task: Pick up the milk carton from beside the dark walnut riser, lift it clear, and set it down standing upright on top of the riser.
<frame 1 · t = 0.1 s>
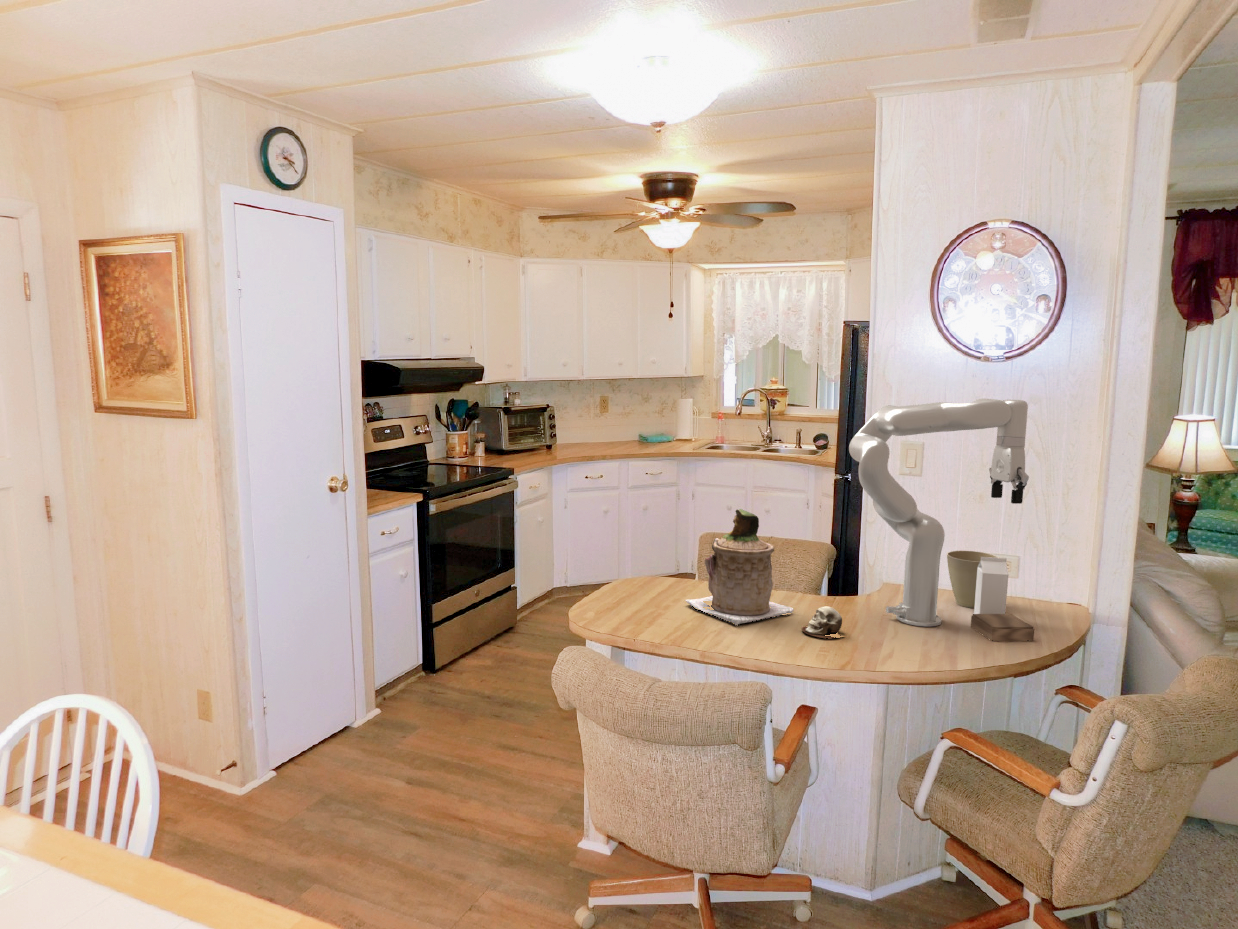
hand: (1006, 500, 242), 36 cm above the table, tool pointing down, fingers open, 9 cm apart
milk carton: (988, 620, 247), on the table
skull: (823, 634, 233), on the table
walnut riser: (1001, 633, 234), on the table
cookie jar: (738, 611, 252), on the table
plant pot: (968, 605, 262), on the table
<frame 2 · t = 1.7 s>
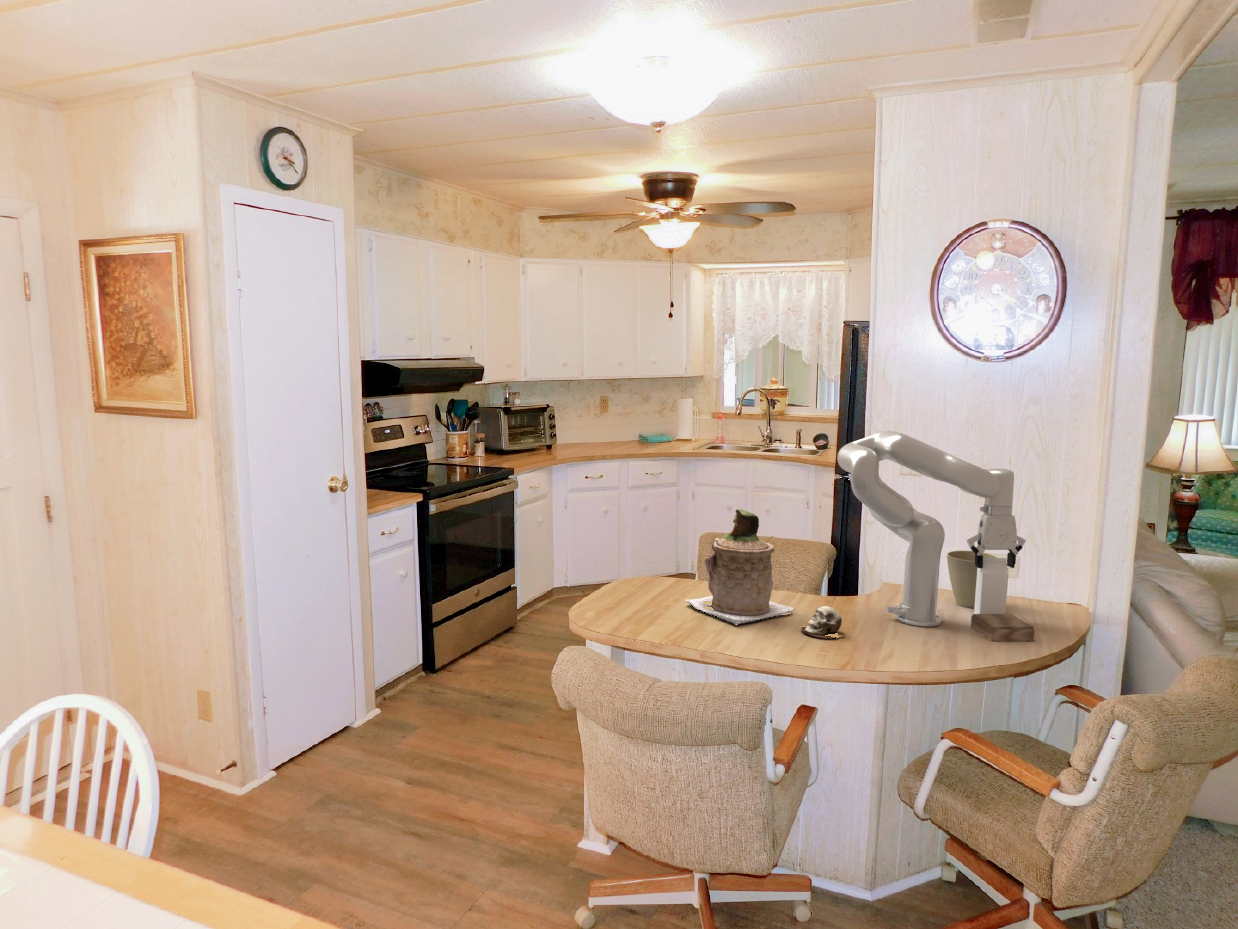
hand: (994, 567, 245), 16 cm above the table, tool pointing down, fingers open, 9 cm apart
milk carton: (988, 620, 247), on the table, touching gripper
everything else where it was.
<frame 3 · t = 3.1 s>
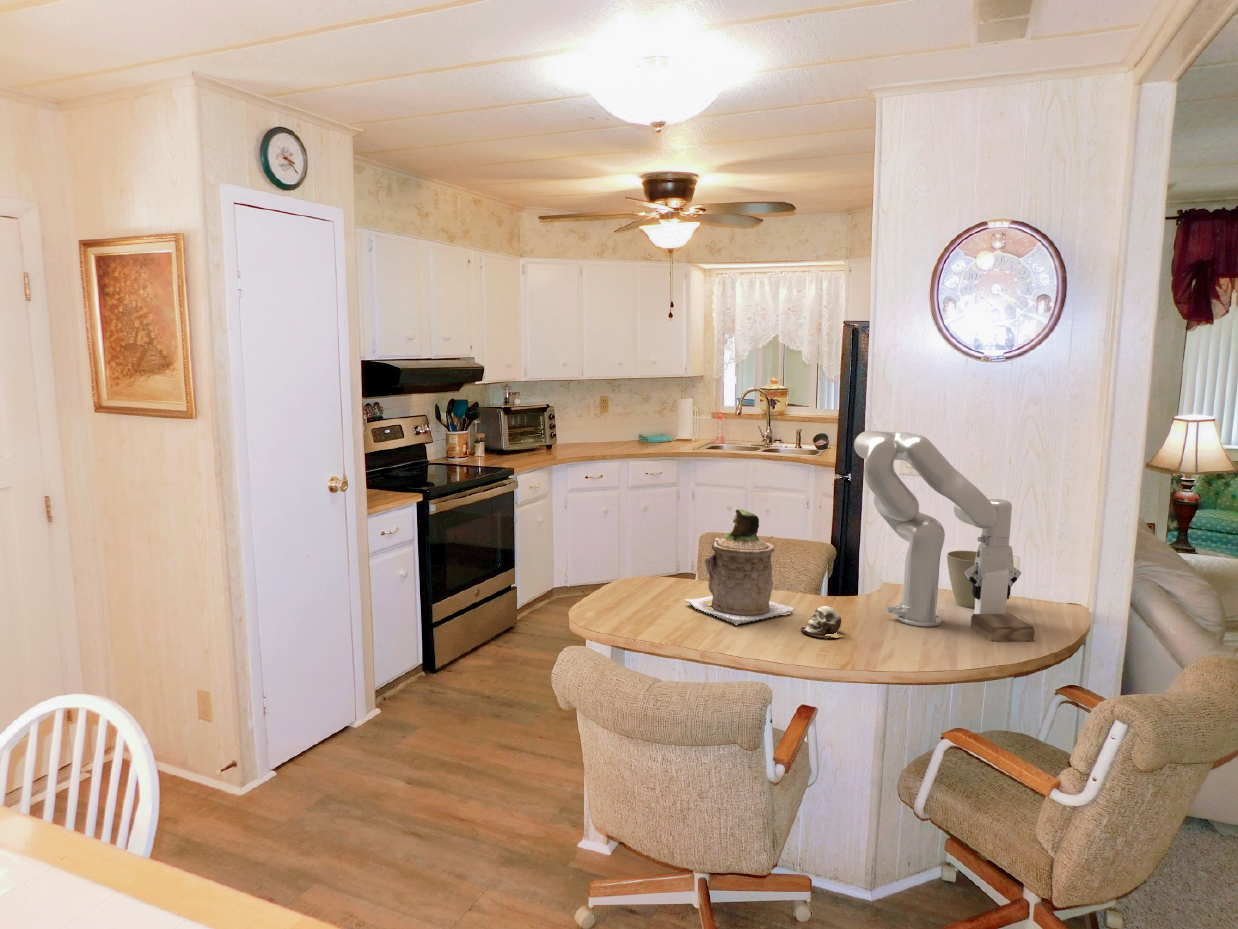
hand: (990, 598, 247), 7 cm above the table, tool pointing down, fingers closed on milk carton, 8 cm apart
milk carton: (989, 620, 247), on the table, touching gripper
everything else where it was.
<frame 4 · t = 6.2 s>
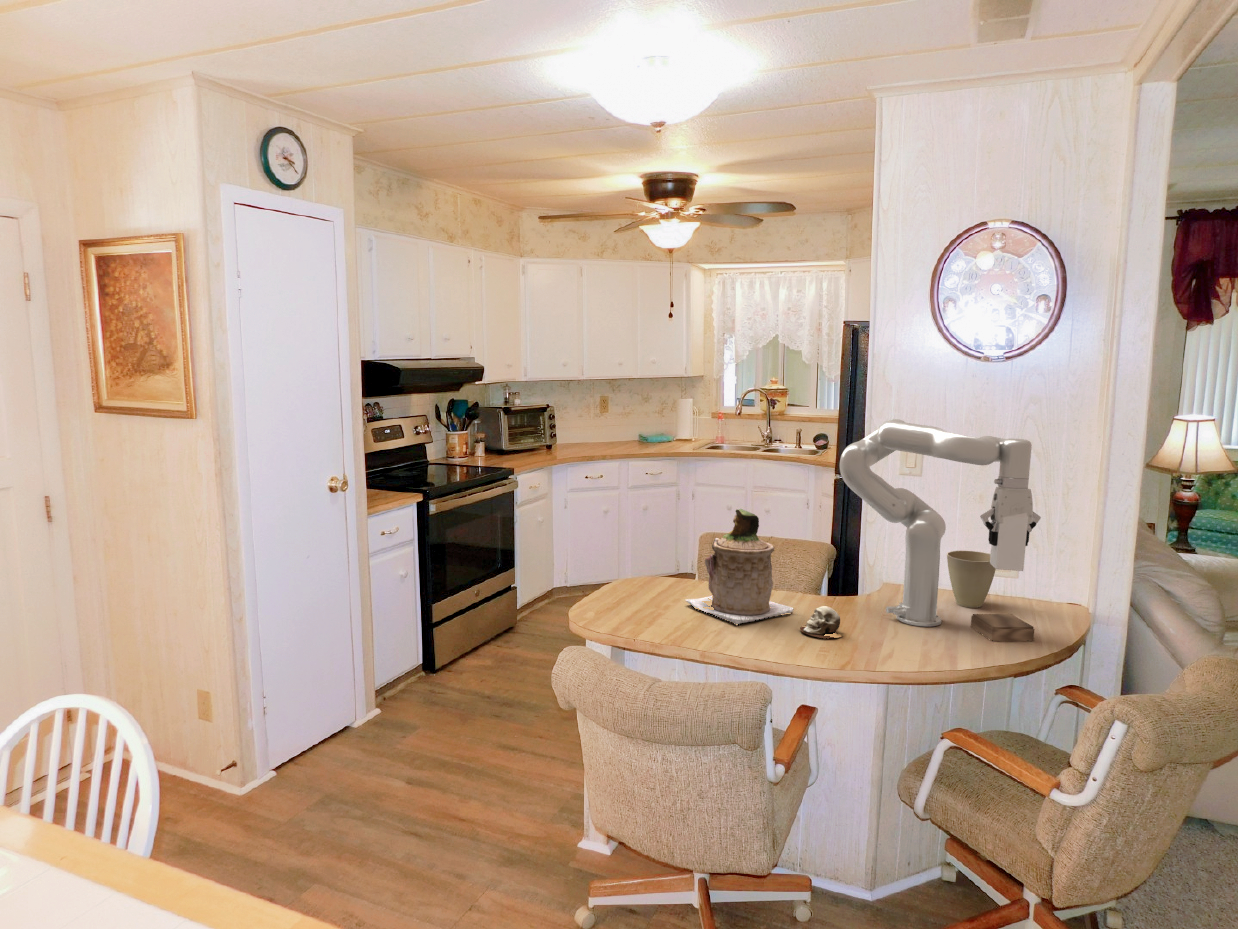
hand: (1008, 544, 231), 26 cm above the table, tool pointing down, fingers closed on milk carton, 8 cm apart
milk carton: (1006, 568, 232), point 19 cm above the table, touching gripper
everything else where it was.
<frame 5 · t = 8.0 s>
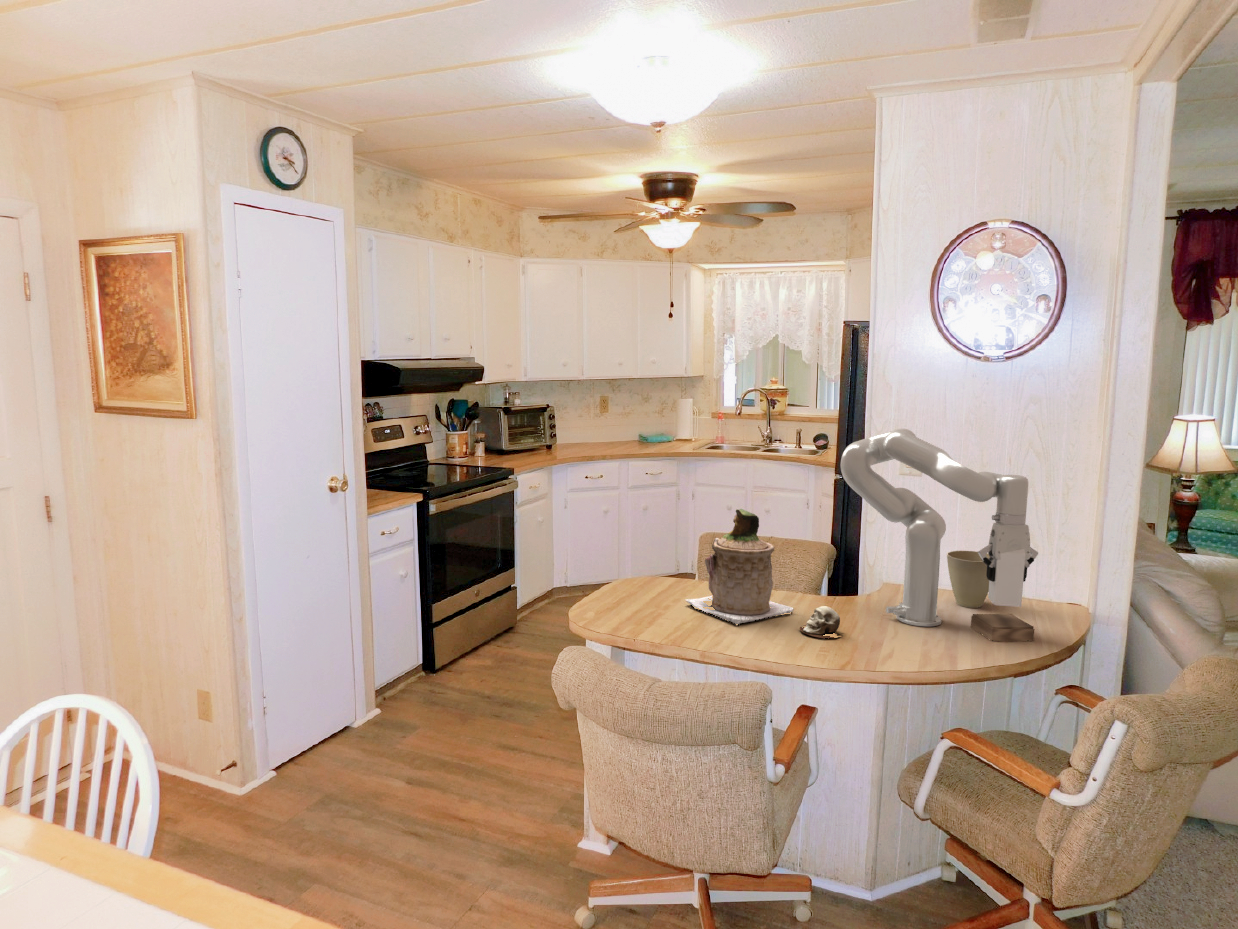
hand: (1006, 580, 232), 16 cm above the table, tool pointing down, fingers closed on milk carton, 8 cm apart
milk carton: (1004, 603, 233), point 9 cm above the table, touching gripper
everything else where it was.
when the fingers open (12 cm above the table, at t = 9.5 s): milk carton drops 1 cm, resting on walnut riser.
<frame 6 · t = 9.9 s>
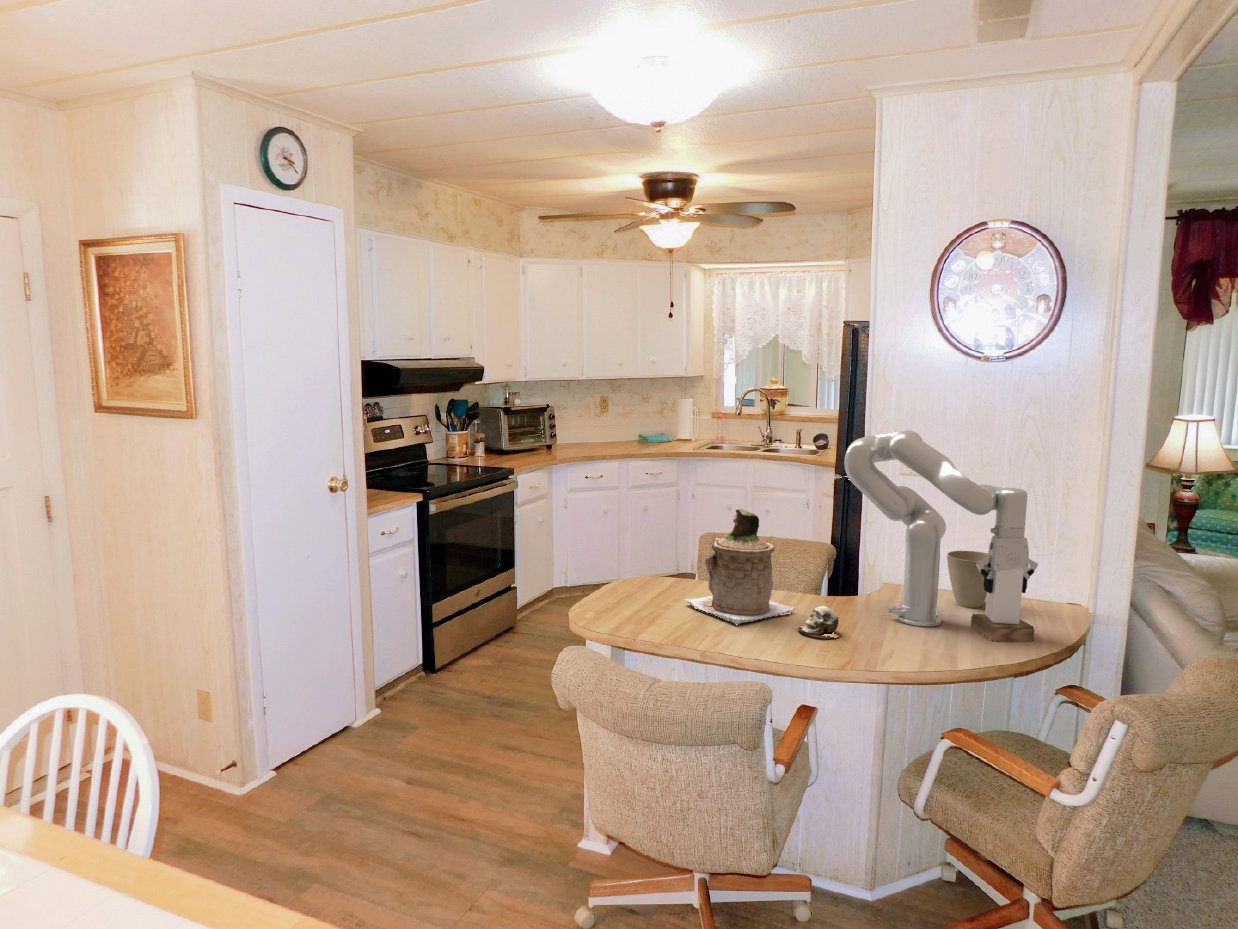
hand: (1004, 591, 233), 12 cm above the table, tool pointing down, fingers open, 9 cm apart
milk carton: (1001, 620, 234), point 4 cm above the table, touching walnut riser
everything else where it was.
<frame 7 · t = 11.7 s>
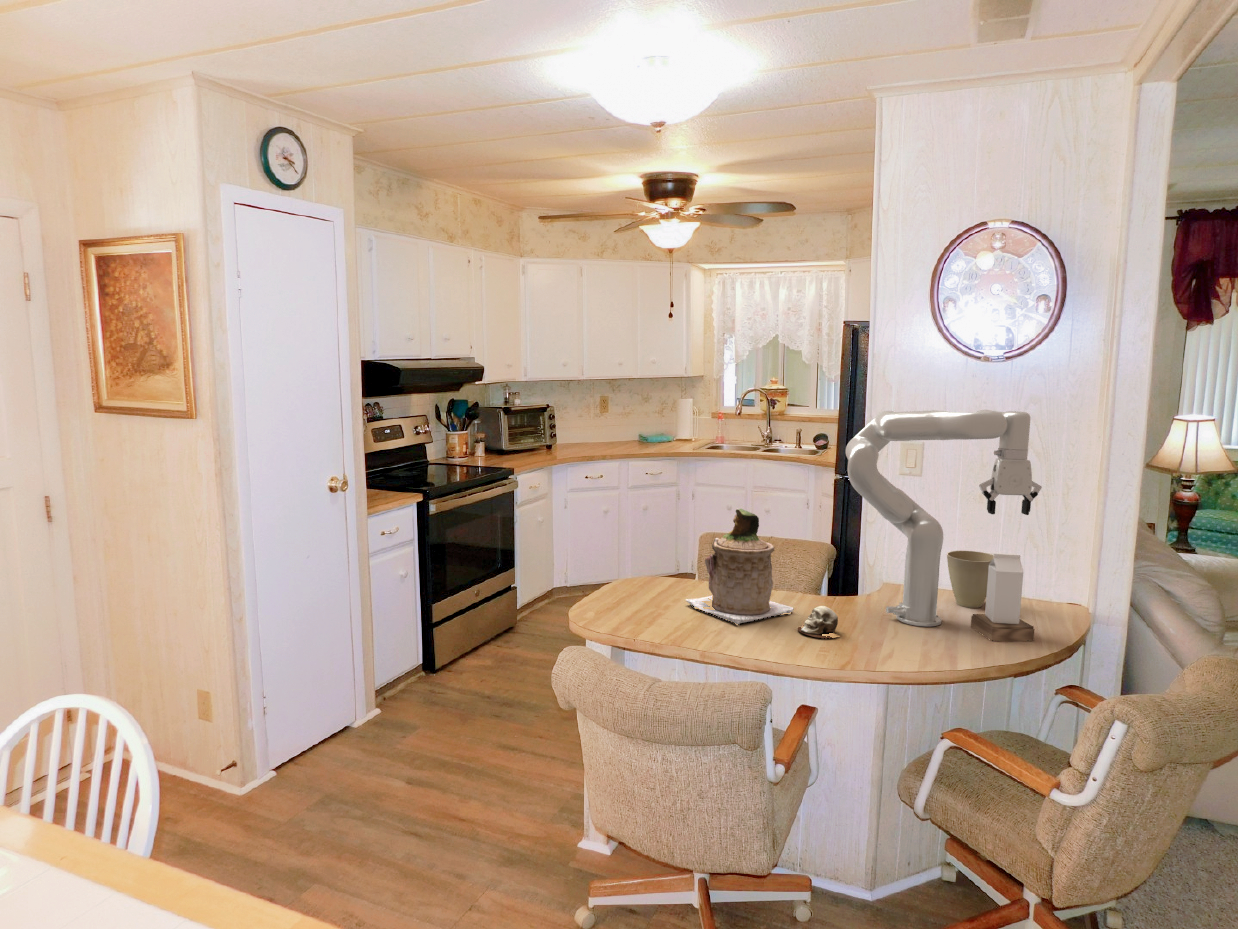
hand: (1008, 513, 238), 33 cm above the table, tool pointing down, fingers open, 9 cm apart
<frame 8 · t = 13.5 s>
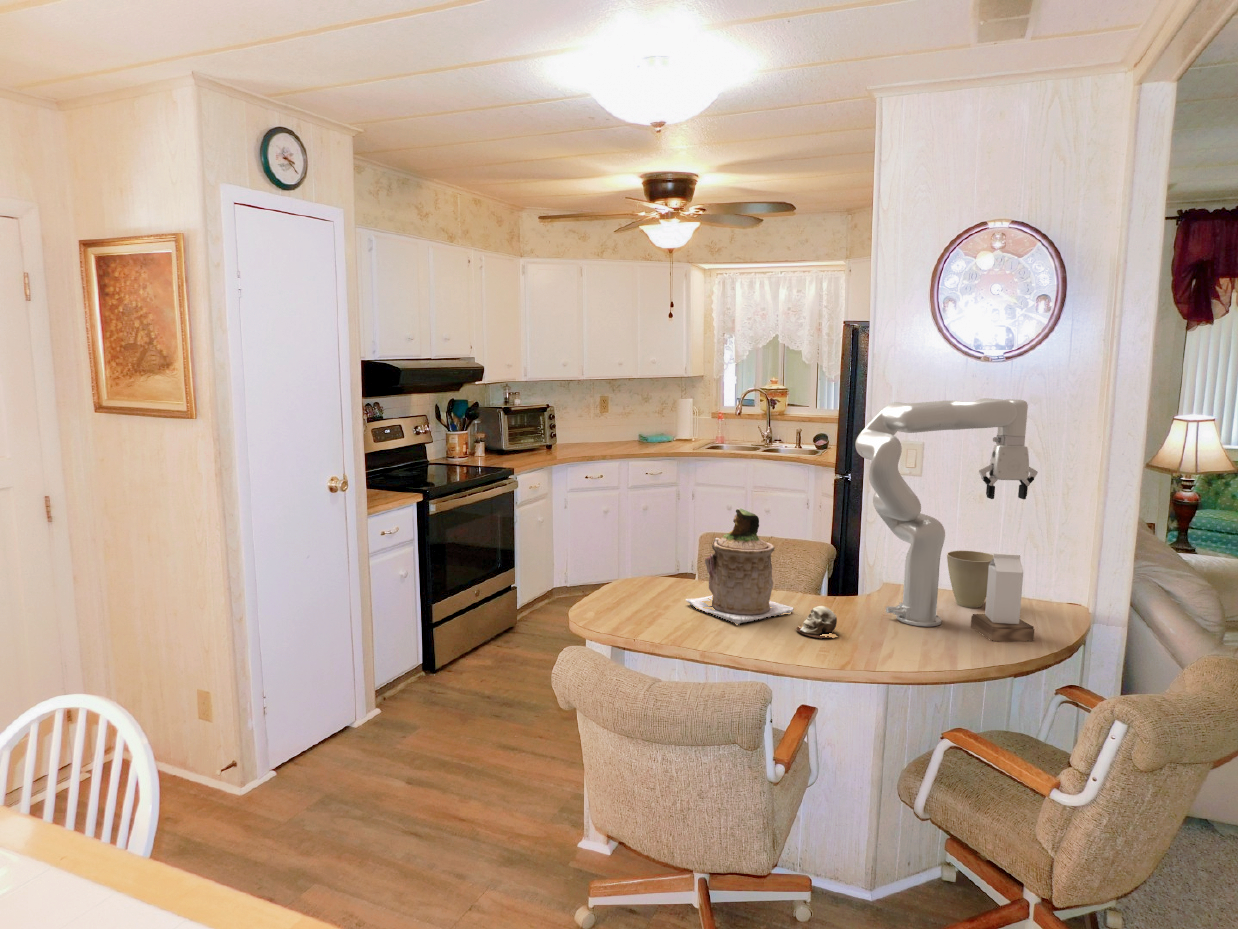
hand: (1006, 498, 246), 36 cm above the table, tool pointing down, fingers open, 9 cm apart
at the end: milk carton 0.2 cm from the walnut riser (horizontally); milk carton point 3.8 cm above the table; milk carton tilted 0° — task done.
